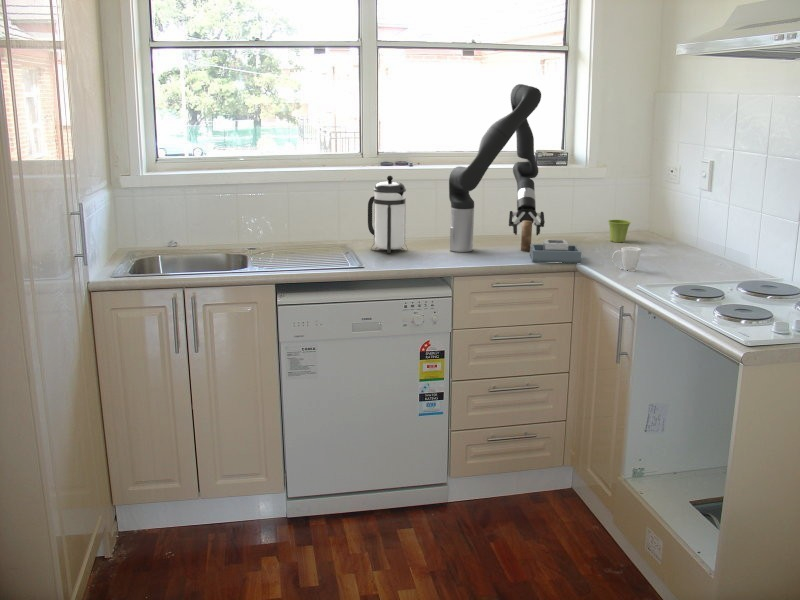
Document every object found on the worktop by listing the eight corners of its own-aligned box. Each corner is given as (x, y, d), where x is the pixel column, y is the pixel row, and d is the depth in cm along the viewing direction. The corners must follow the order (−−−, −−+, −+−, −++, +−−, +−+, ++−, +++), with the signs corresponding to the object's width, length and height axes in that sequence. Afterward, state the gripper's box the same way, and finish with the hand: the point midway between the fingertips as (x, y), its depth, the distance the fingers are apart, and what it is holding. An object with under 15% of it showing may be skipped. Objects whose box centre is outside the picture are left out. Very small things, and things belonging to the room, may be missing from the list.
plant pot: (630, 240, 344) (632, 220, 342) (627, 244, 336) (629, 223, 333) (608, 238, 348) (609, 218, 345) (605, 242, 339) (606, 222, 337)
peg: (521, 251, 319) (522, 222, 316) (520, 249, 323) (521, 220, 320) (531, 251, 319) (532, 222, 316) (530, 249, 323) (531, 220, 320)
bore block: (544, 259, 301) (545, 243, 300) (542, 254, 309) (543, 239, 308) (567, 259, 300) (568, 244, 299) (564, 254, 309) (565, 239, 307)
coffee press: (409, 246, 326) (410, 173, 319) (406, 254, 311) (407, 178, 303) (368, 245, 328) (367, 172, 320) (362, 253, 313) (362, 177, 305)
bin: (532, 262, 300) (533, 250, 299) (529, 255, 312) (530, 244, 311) (580, 263, 298) (581, 252, 297) (576, 256, 311) (576, 245, 310)
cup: (639, 272, 285) (641, 250, 283) (611, 271, 287) (612, 249, 285) (639, 268, 292) (641, 247, 289) (611, 266, 294) (612, 245, 292)
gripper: (509, 195, 324) (509, 228, 316) (544, 196, 323) (545, 229, 315) (508, 206, 330) (508, 238, 322) (542, 207, 329) (543, 239, 321)
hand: (526, 234), depth 319 cm, fingers open, 8 cm apart
